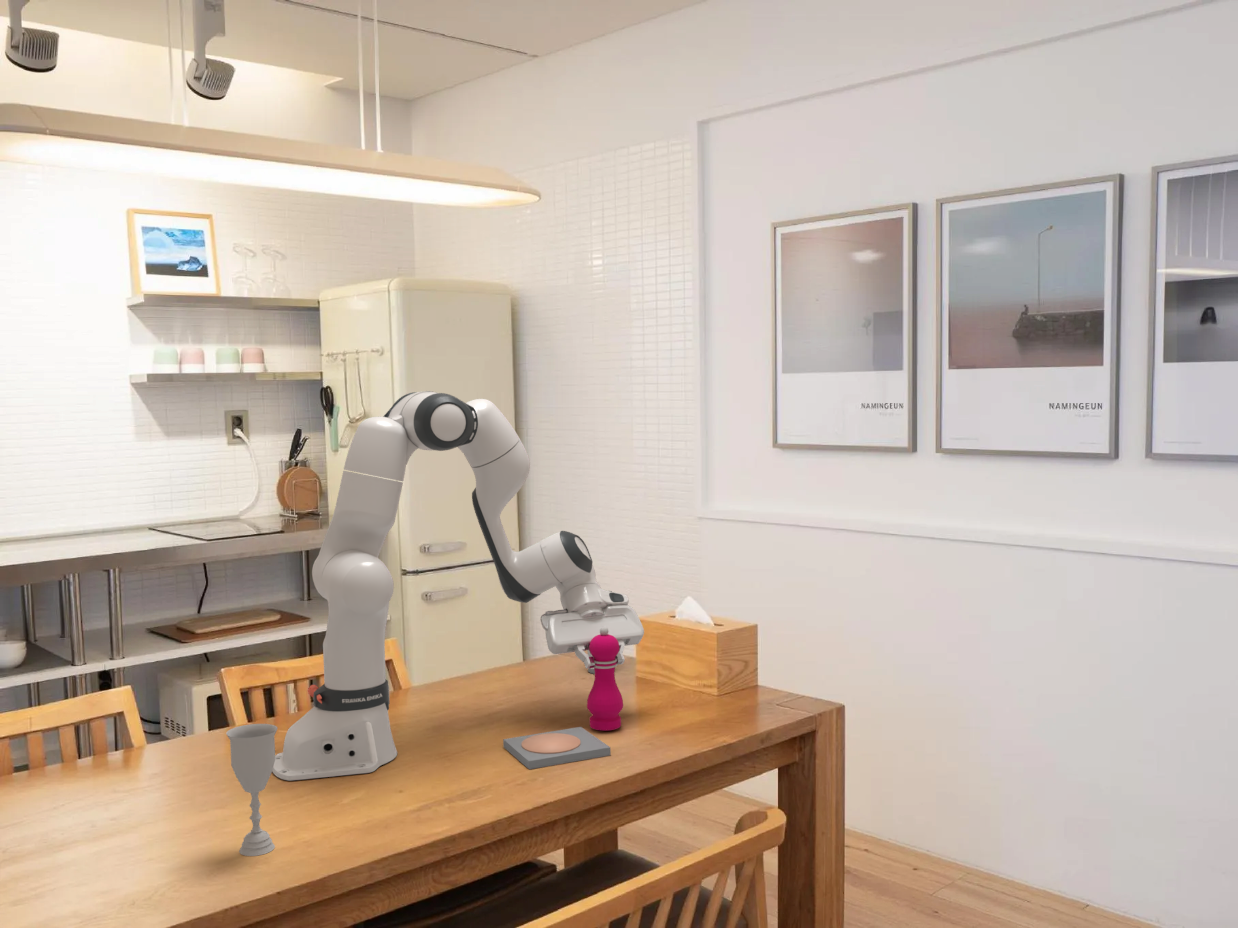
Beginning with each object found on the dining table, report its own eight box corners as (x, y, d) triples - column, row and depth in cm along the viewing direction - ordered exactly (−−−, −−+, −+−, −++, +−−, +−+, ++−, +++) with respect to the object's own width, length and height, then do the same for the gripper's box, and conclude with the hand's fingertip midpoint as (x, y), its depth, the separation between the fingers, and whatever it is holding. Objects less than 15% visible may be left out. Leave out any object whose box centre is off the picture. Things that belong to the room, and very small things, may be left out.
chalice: (287, 838, 167) (283, 722, 166) (275, 857, 161) (270, 737, 159) (239, 840, 167) (234, 724, 166) (224, 859, 160) (219, 738, 159)
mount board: (529, 769, 196) (528, 759, 196) (503, 746, 208) (503, 737, 208) (610, 755, 203) (610, 745, 202) (580, 734, 215) (580, 725, 215)
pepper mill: (623, 731, 215) (621, 630, 214) (586, 731, 215) (584, 630, 214) (623, 720, 222) (622, 622, 221) (588, 720, 222) (586, 622, 221)
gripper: (541, 603, 219) (561, 662, 211) (634, 594, 227) (656, 650, 219) (534, 621, 223) (552, 679, 215) (625, 611, 232) (646, 667, 224)
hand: (605, 664), depth 217 cm, fingers closed on pepper mill, 5 cm apart
